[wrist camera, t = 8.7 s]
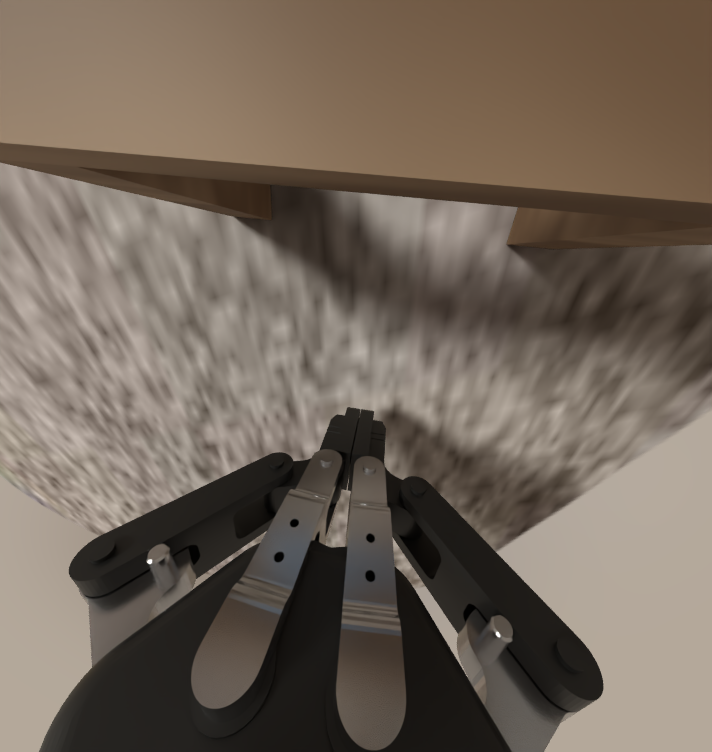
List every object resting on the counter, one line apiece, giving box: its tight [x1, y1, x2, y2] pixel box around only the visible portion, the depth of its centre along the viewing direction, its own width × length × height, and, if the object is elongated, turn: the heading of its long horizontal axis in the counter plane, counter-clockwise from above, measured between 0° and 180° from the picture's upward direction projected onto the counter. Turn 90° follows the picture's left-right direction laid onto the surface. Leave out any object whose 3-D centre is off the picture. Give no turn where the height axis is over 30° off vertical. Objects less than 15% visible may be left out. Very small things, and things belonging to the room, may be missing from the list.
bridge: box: [0, 0, 712, 249], centre depth 7 cm, size 3×15×10 cm, turn 84°
